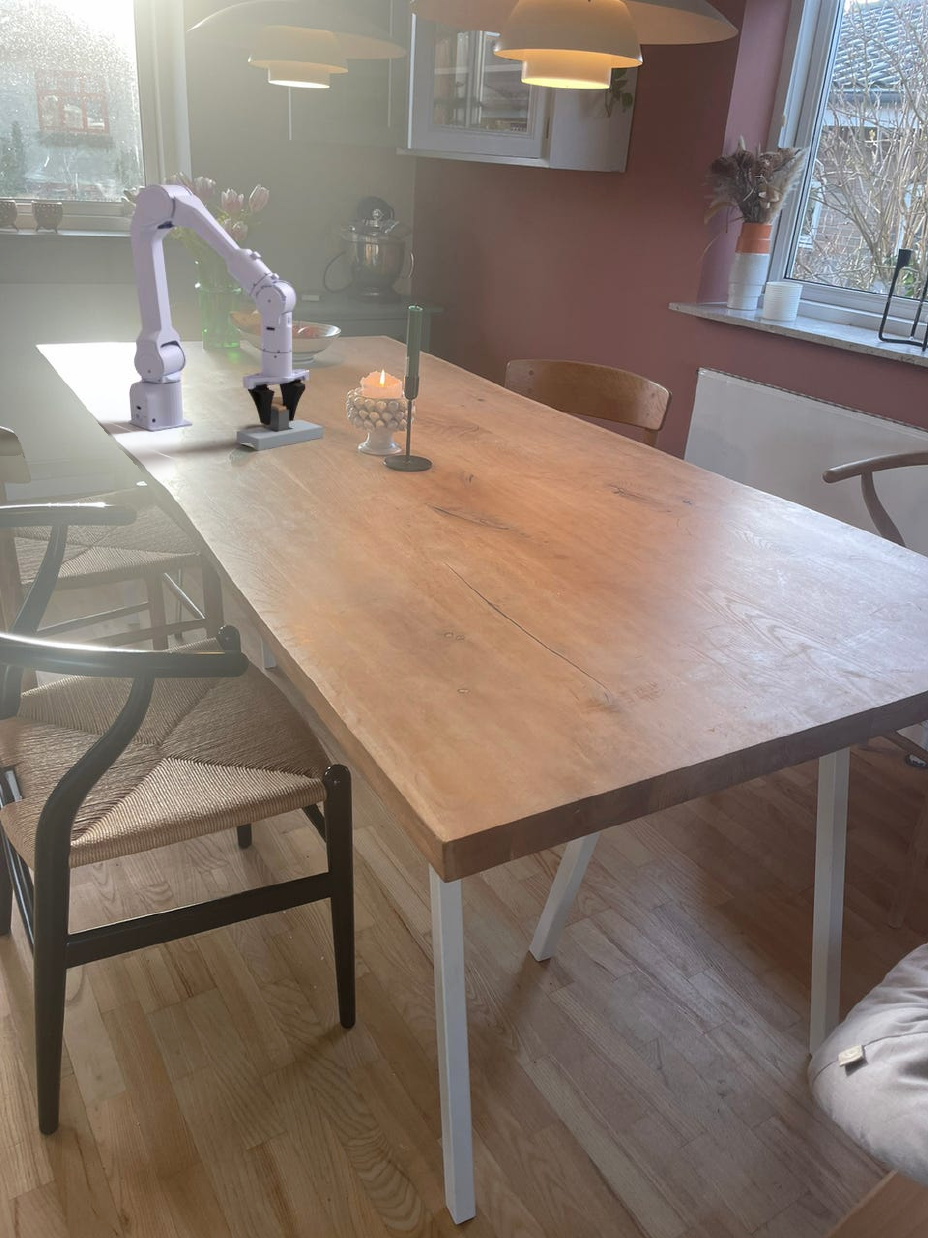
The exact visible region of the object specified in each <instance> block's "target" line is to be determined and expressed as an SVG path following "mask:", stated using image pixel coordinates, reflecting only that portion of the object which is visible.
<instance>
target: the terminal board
mask: <svg viewBox="0 0 928 1238" xmlns="http://www.w3.org/2000/svg"><path fill="white" fill-rule="evenodd" d="M323 430H324V427H323V426H321V425H318V424H316V423H312V422H309V421H306V420H303V419H297V420H293V421H291V422H289V430H285V431H279V432H274V431H271V430H268V429H266V427H261V426H258V427H253V428H247V429H242V430H237V431H236V444H239V445H242V444H241V443H251V444H252V445H253V446H254V449H253V450H256V451H258V452H260V451H264V450H268V449H269V450H270V449H274V448H279V447H284V446H289V445H293V444H294V445H295V444H299V443H303V442H308V441H313V440H319V439H322V438H323V437H324V436H323V434H324V433H323Z"/></svg>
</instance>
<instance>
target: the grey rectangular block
mask: <svg viewBox="0 0 928 1238" xmlns="http://www.w3.org/2000/svg"><path fill="white" fill-rule="evenodd" d="M265 429H268V430H271V431H274V432H279V431H285V430H289V410H288V409H286V406H283V405H279V404H276V403H274V404H272V405H271V422H270V425H266V426H265Z"/></svg>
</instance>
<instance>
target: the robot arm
mask: <svg viewBox="0 0 928 1238" xmlns="http://www.w3.org/2000/svg"><path fill="white" fill-rule="evenodd" d="M134 199H135V204H136V205H135V206H136V207H135V209H134V213H133V215H132V219H131V222H130V225H129V235H130V236H129V237H130V243H131V251H132V256H133V265H134V272H135V274H134V275H135V279H136V280H135V281H136V288H137V289H136V290H137V297H138V304H139V312H140V319H141V320H140V321H141V327H142V329H141V331H140V333H139V335H138V336H137V338H136V340H135V344H136V350H135V355H134V358H133V365H134V367H135V368H134V369H135V370H136V373H137V374H138V375H139V376H140V377H141V380H140V381H137V382H136V381H135V382H134V383H132V384H131V385H130V387H129V392H128V395H129V404H130V405H129V406H130V407H129V408H130V418H131V419H130V420H129V424H131V425H134V426H137V427H140V428H142V429H145V430H146V431H150V432H158V431H163V430H169V429H170V430H171V429H173V428H174V429H176V428H181V427H186V426H192V425H193V422H192V421H190V420H187V419H184V415H183V413H184V412H183V392H182V371H183V369H185V367H186V364H187V355H186V352H185V349H184V348H183V346H182V344H181V340H180V335H179V334H178V332H177V331H176V330H175V329H174V327H173V324H172V316H171V315H172V314H171V308H170V298H169V290H168V289H169V288H168V282H167V274H166V264H165V256H164V248H163V239H164V238H165V237H166V235H168V234H169V233H170V232H171V231H172V229H174V228H175V227H181V228H186V229H190V230H192V231H194V232H195V233H196V234H197V235H198V236H200V237H201V239H202V240H204V241H205V242H206V243H207V244H208V245H209V246H210V247H211V248H212V249H213V250H214V251H215V252H216V253H218V254H219V256H220V257H222V258H223V259H224V260H225V261H226V266H227V273H228V274H229V275H231V277H232V278H233V279H234V280H235V281H236V282H237V283H238V284H239V285H240V286H241V287H242V288H243V289H244V290H245V292H247V293H248V294H249V296H251V298H252V299H253V300H254V301H253V302H254V305H255V308H256V309H257V312H258V313H259V315H260V366H261V370H260V372H257V373H254V374H250V375H245V376H242V387H243V388H245V389H247V391H248V392H249V395H250V397H251V398H252V400H253V402H254V406H255V408H256V411H257V413H258V418H259V422H260V424H263V425H264V426H265V425H270V422H271V405H272V400H273V397H275V390H273V389H270V387H269V386H274V385H279V388H280V393H281V397H282V399H283V406H286V409H288V410H289V420H290V421H294V418H295V414H296V411H297V408H298V404H299V401H300V399H301V398H302V395H303V393H304V392H305V390H306V383H303V382H309V381H310V371H309V370H307V369H303V368H302V369H301V368H299V369H293V319H292V318H293V312H292V311H293V310H294V309H295V307H296V305H297V300H298V299H297V294H296V291H295V289H294V288H293V287H292V284H291V283H290V282H288V281H286V280H283V279H280V276H279V275H278V273H275V272H274V273H273V272H272V270H271V269H269V267H267V266H266V264H265V263H264V262H263V261H262V260H261V259H260V258H262V256H261V255H260V253H259V252H258V251H252V250H251V249H250V248H241V247H239V245H238V244H237V243H236V241H234V239H233V238H232V237H231V236H230V235H229V234H228V232H226V230H225V229H224V228H223V227H222V226H221V225H220V223H219V221H217V220H216V219H215V218H214V216H213V215H212V214H211V213H210V211H209V210H207V208H206V207H205V206H204V204H203V202H202V200H201V199H200V198H199V197H198V196H197V195H195V194H193V192H192V191H191V190H190V188H188V187H187V186H185V185H184V184H181V183H173V184H158V183H151V184H148V185H146V186H144V188H143V189H142V190H140V192H139V193H137V195H136V196H135V197H134ZM302 381H303V382H302Z"/></svg>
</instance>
